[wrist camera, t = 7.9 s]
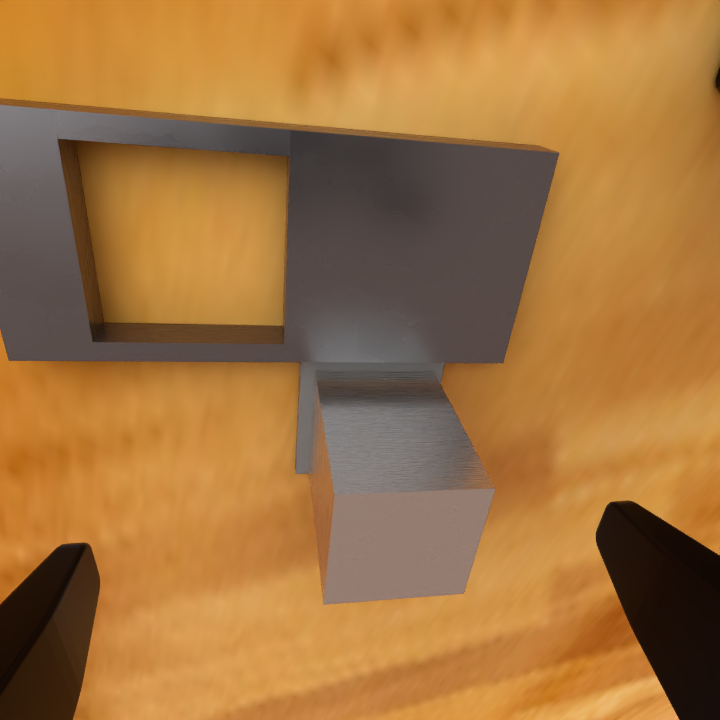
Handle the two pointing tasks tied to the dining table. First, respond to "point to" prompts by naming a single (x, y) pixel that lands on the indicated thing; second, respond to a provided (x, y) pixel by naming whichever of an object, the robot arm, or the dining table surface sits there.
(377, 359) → the plate with rectangular hole
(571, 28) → the dining table surface
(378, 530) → the brushed metal block
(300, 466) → the pad
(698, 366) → the dining table surface
